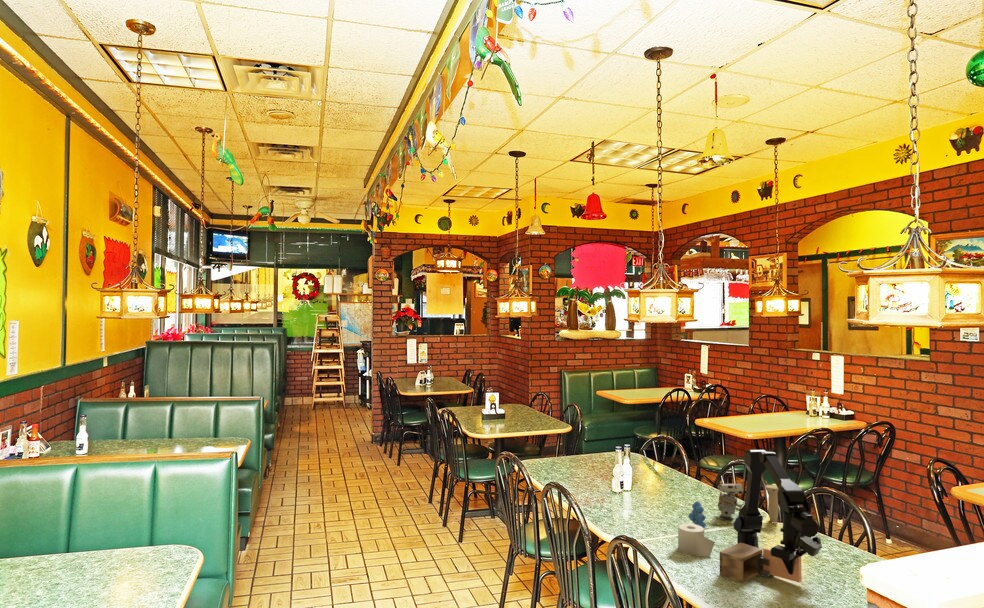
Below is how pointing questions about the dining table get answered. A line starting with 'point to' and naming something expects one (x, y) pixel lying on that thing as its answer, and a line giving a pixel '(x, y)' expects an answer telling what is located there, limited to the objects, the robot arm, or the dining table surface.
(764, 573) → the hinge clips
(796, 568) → the cabinet door
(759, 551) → the cabinet
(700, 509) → the grapes
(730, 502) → the figurine
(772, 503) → the handle
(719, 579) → the dining table surface
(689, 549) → the toilet tissue
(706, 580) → the dining table surface
